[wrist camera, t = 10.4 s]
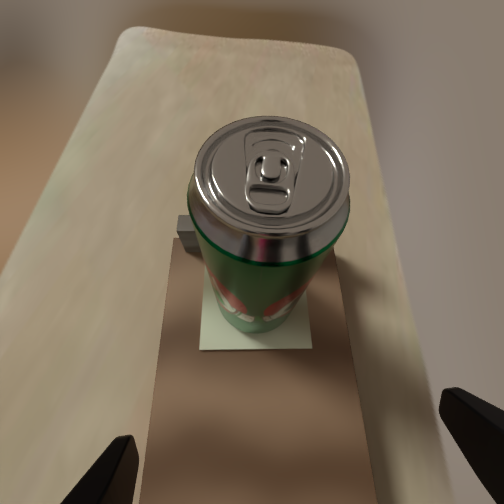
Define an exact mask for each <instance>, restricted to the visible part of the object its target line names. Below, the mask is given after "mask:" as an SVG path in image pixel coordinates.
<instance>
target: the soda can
mask: <svg viewBox="0 0 504 504" xmlns="http://www.w3.org/2000/svg"><path fill="white" fill-rule="evenodd" d="M349 185H350V174H349V168H348V164H347V162H346V159H345V157H344V155H343V154H342V152H341V150H340V149H339V148H338V146H337V145H336V144H335V143H334V142H333V141H332V140H331V139H330V138H329V137H328V136H327V135H325V134H324V133H322V132H321V131H319V130H318V129H316V128H314V127H312V126H310V125H308V124H306V123H303V122H301V121H298V120H294V119H290V118H286V117H279V116H256V117H250V118H244V119H241V120H238V121H235V122H232V123H230V124H228V125H226V126H224V127H222V128H221V129H219V130H217V131H216V132H215V133H214V134H212V135H211V136H210V137H209V138H208V139H207V140H206V142H205V143H204V144H203V145H202V147H201V149H200V150H199V152H198V155H197V158H196V160H195V166H194V173H193V175H192V177H191V180H190V183H189V186H188V192H187V206H188V210H189V214H190V218H191V221H192V224H193V227H194V231H195V234H196V237H197V240H198V243H199V246H200V250H201V253H202V256H203V259H204V262H205V265H206V269H207V272H208V275H209V278H210V281H211V284H212V288H213V291H214V294H215V297H216V300H217V303H218V307H219V309H220V311H221V313H222V315H223V317H224V318H225V319H226V320H227V321H228V323H230V324H231V325H232V326H233V327H235V328H237V329H239V330H241V331H244V332H247V333H255V334H259V333H265V332H269V331H272V330H274V329H276V328H277V327H279V326H280V325H281V324H282V323H283V322H284V321H285V320H286V319H287V318H288V316H289V315H290V313H291V312H292V310H293V309H294V307H295V306H296V304H297V302H298V301H299V299H300V298H301V296H302V295H303V293H304V292H305V290H306V288H307V287H308V285H309V284H310V282H311V281H312V279H313V278H314V276H315V274H316V273H317V271H318V270H319V268H320V267H321V265H322V264H323V262H324V260H325V259H326V257H327V256H328V254H329V253H330V251H331V250H332V248H333V246H334V245H335V243H336V242H337V240H338V239H339V237H340V236H341V234H342V232H343V231H344V228H345V226H346V224H347V222H348V217H349V213H350V197H349Z"/></svg>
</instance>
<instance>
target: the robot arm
mask: <svg viewBox="0 0 504 504" xmlns="http://www.w3.org/2000/svg"><path fill="white" fill-rule="evenodd" d="M439 414H440V417H441V419H442V420H443V422H444V424H445V425H446V427H447V429H448V430H449V432H450V433H451V435H452V436H453V438H454V440H455V441H456V443H457V444H458V446H459V448H460V449H461V451H462V453H463V454H464V456H465V458H466V459H467V461H468V463H469V464H470V466H471V467H472V469H473V470H474V472H475V474H476V475H477V477H478V478H479V480H480V481H481V482H482V484H483V485H484V487H485V488H486V490H487V491H488V492H489V494H490V495H491V496H492V498H493V499H494V500H495V502H496V503H497V504H504V411H503V410H501V409H500V408H497V407H496V406H494V405H492V404H490V403H488V402H486V401H484V400H482V399H480V398H478V397H476V396H474V395H472V394H471V393H469V392H467V391H465V390H463V389H461V388H458V387H453V388H446V389H444V390H443V391H442V394H441V400H440V405H439ZM138 466H139V455H138V451H137V448H136V444H135V440H134V437H133V436H132V435H125V436H119V437H116V438H115V439H114V440H113V441H112V442H111V444H110V445H109V446H108V447H107V448H106V450H105V451H104V452H103V453H102V454H101V456H100V457H99V458H98V459H97V460H96V461H95V463H94V464H93V465H92V466H91V467H90V469H89V470H88V471H87V472H86V473H85V475H84V476H83V477H82V478H81V479H80V481H79V482H78V483H77V484H76V485H75V487H74V488H73V489H72V490H71V491H70V493H69V494H68V495H67V496H66V497H65V499H64V500H63V501H62V502H61V503H60V504H132V502H133V496H134V490H135V484H136V478H137V472H138Z"/></svg>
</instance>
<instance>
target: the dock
mask: <svg viewBox="0 0 504 504" xmlns="http://www.w3.org/2000/svg"><path fill="white" fill-rule="evenodd" d="M177 233H178V235H179V238H174V240H173V247H172V255H171V263H170V270H169V278H168V286H167V293H166V301H165V309H164V316H163V324H162V332H161V339H160V347H159V355H158V362H157V370H156V378H155V385H154V393H153V401H152V408H151V416H150V424H149V431H148V439H147V447H146V454H145V462H144V470H143V477H142V485H141V493H140V500H139V504H377V498H376V492H375V486H374V480H373V474H372V469H371V463H370V457H369V451H368V445H367V439H366V434H365V428H364V422H363V416H362V410H361V404H360V399H359V393H358V387H357V381H356V375H355V370H354V364H353V358H352V352H351V346H350V340H349V335H348V329H347V323H346V317H345V311H344V305H343V300H342V294H341V288H340V282H339V276H338V271H337V265H336V259H335V253H334V247H333V248H332V250H331V251H330V253H329V254H328V256H327V257H326V259H325V260H324V262H323V264H322V265H321V267H320V268H319V270H318V271H317V273H316V274H315V276H314V278H313V279H312V281H311V282H310V284H309V285H308V287H307V288H306V290H305V292H304V293H303V295H302V296H301V298H300V299H299V301H298V302H297V304H296V306H295V307H294V309H293V310H292V312H291V313H290V315H289V316H288V318H287V319H286V320H285V321H284V322H283V323H282V324H281V325H280V326H279V327H277V328H276V329H274V330H272V331H269V332H265V333H259V334H255V333H247V332H244V331H241V330H239V329H237V328H235V327H233V326H232V325H231V324H230V323H228V321H227V320H226V319H225V318H224V317H223V315H222V313H221V311H220V309H219V307H218V303H217V300H216V297H215V294H214V291H213V288H212V284H211V281H210V278H209V275H208V272H207V269H206V265H205V262H204V259H203V256H202V253H201V250H200V246H199V243H198V240H197V237H196V234H195V231H194V227H193V224H192V221H191V218H190V215H179V216H178V224H177Z"/></svg>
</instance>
